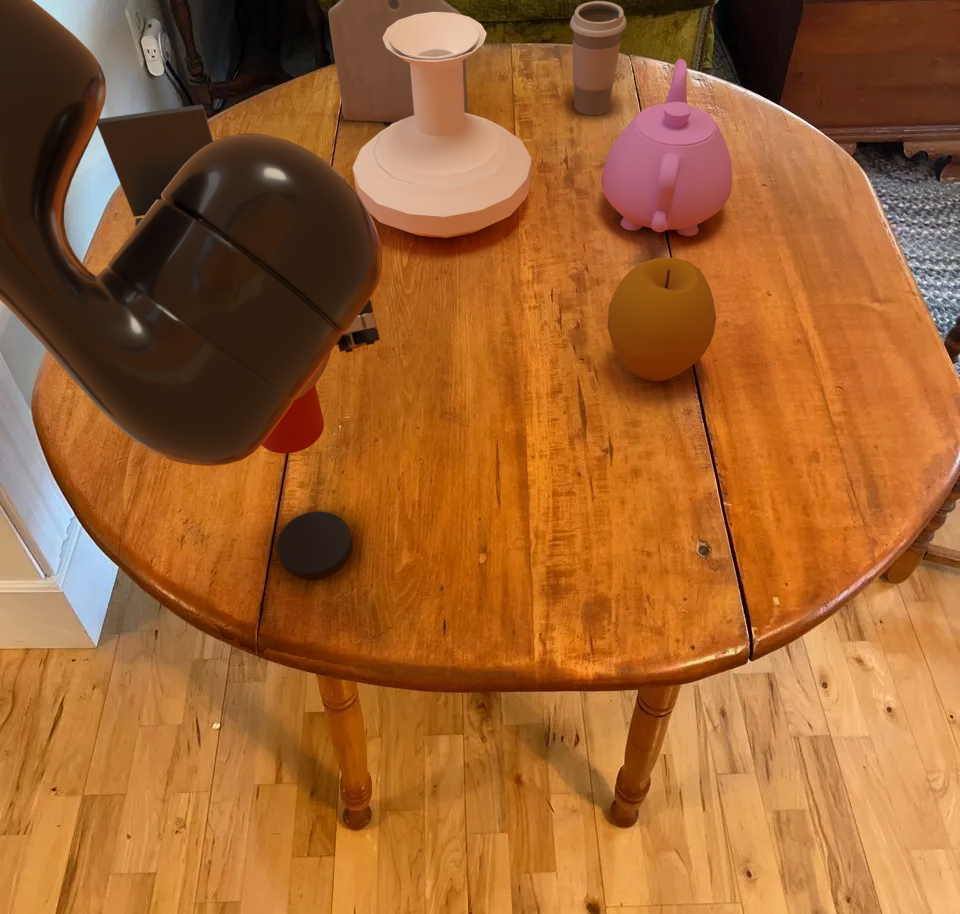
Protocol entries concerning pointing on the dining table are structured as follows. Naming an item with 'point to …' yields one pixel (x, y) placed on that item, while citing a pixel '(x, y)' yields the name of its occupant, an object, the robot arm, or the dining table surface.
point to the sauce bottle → (298, 426)
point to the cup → (595, 54)
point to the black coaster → (314, 545)
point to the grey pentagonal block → (376, 58)
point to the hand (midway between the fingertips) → (269, 352)
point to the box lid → (153, 149)
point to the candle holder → (440, 141)
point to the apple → (661, 318)
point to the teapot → (669, 165)
